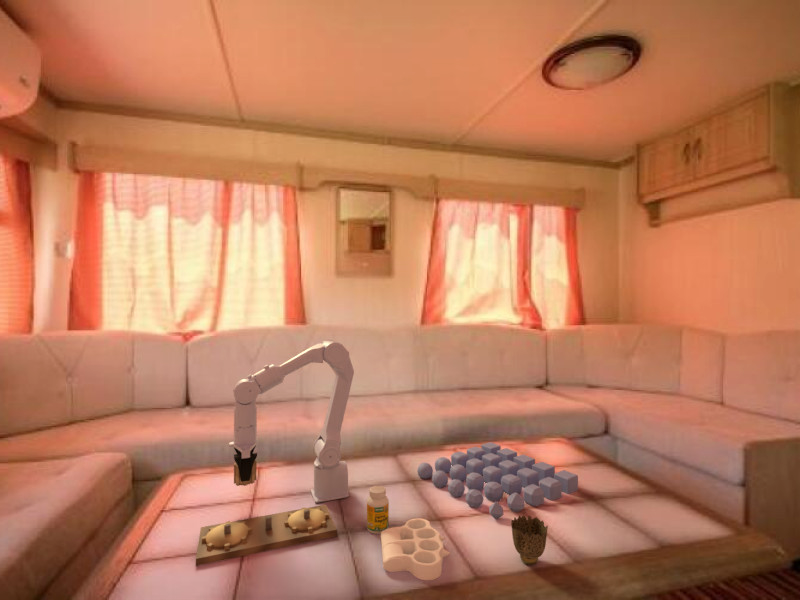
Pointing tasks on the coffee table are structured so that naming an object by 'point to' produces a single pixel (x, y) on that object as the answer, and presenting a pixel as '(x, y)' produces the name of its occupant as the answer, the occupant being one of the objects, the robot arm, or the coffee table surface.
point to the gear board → (263, 534)
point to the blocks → (499, 478)
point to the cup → (529, 538)
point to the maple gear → (237, 475)
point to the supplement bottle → (377, 510)
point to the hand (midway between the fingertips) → (245, 476)
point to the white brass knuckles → (413, 549)
